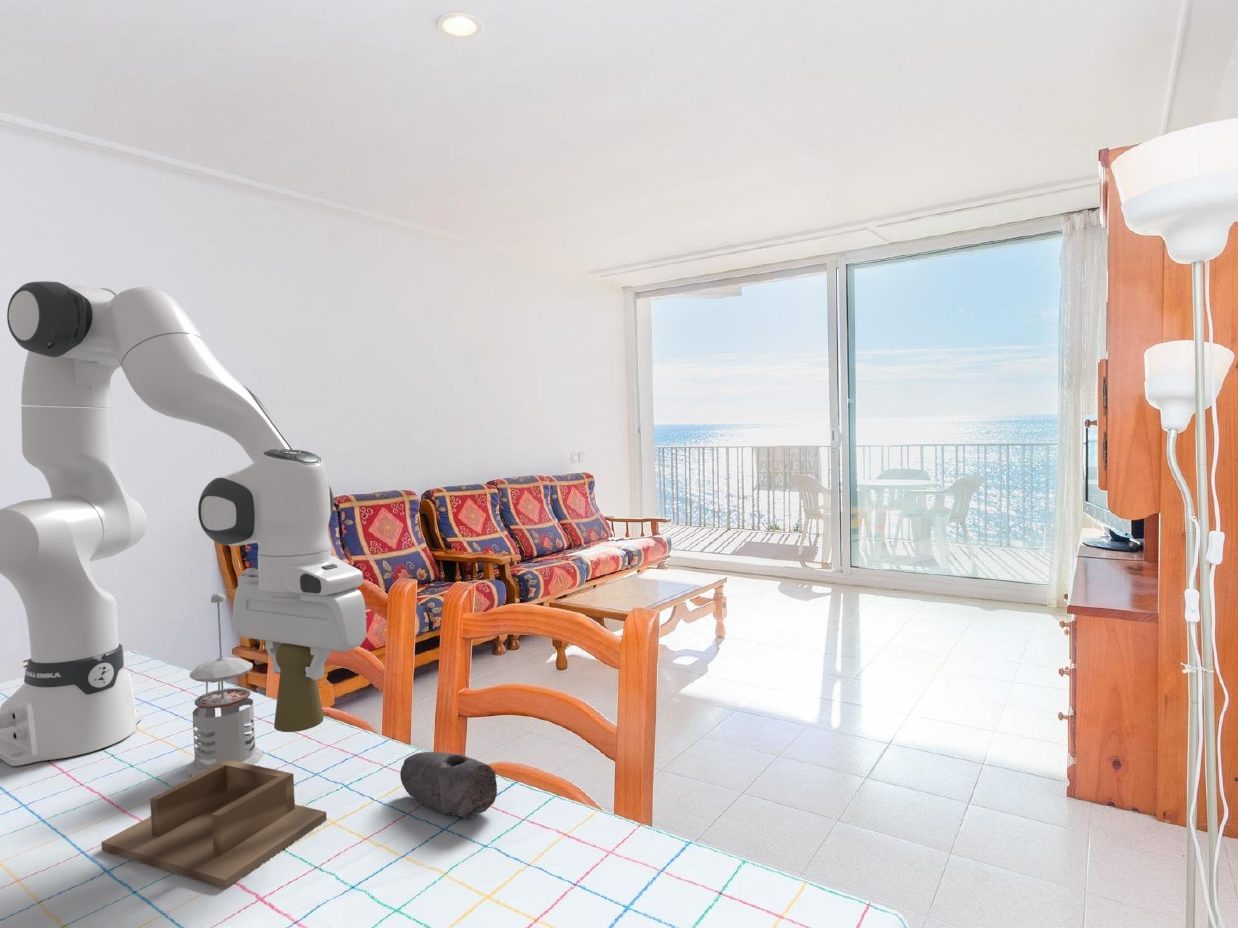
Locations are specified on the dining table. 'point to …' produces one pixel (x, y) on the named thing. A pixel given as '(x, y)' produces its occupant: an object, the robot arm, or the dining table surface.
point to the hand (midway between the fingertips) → (298, 675)
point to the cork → (296, 691)
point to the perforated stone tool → (449, 783)
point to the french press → (222, 713)
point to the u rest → (218, 824)
